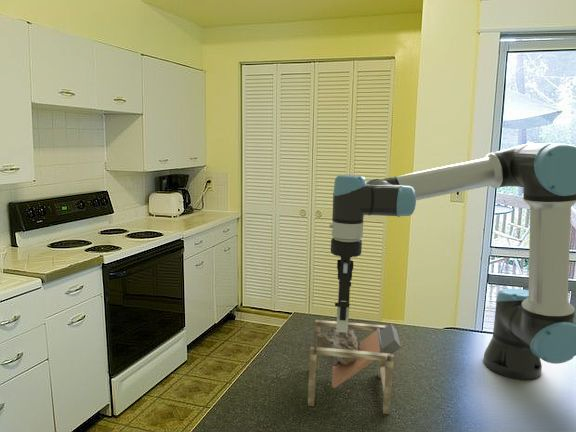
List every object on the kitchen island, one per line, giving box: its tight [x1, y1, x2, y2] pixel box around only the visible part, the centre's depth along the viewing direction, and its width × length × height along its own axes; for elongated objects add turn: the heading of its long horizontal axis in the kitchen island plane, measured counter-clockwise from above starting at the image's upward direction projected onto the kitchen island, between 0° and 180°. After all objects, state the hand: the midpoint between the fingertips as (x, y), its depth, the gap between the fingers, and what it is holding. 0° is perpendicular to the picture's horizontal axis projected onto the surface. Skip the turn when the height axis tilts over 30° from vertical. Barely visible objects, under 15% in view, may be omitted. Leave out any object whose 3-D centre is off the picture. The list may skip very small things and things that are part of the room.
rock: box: [315, 328, 360, 367], centre depth 113 cm, size 9×12×10 cm
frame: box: [307, 319, 395, 415], centre depth 114 cm, size 20×18×15 cm
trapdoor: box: [331, 323, 402, 389], centre depth 113 cm, size 19×14×3 cm
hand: (342, 320), depth 112 cm, fingers open, 13 cm apart
